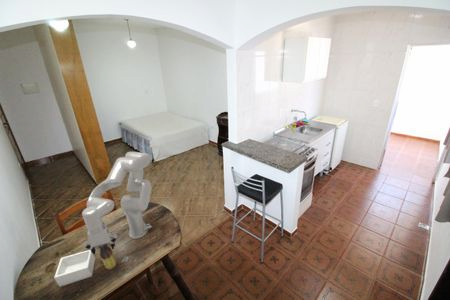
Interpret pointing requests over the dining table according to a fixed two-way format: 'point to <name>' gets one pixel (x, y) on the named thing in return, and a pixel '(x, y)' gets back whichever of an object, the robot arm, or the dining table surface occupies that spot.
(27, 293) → the dining table surface
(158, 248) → the dining table surface
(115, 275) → the dining table surface
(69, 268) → the storage box
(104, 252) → the sauce bottle
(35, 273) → the dining table surface
